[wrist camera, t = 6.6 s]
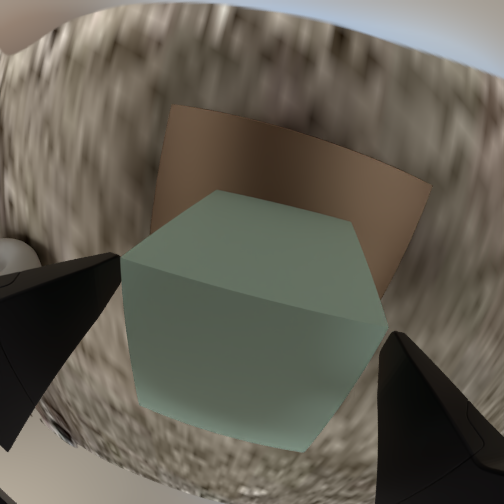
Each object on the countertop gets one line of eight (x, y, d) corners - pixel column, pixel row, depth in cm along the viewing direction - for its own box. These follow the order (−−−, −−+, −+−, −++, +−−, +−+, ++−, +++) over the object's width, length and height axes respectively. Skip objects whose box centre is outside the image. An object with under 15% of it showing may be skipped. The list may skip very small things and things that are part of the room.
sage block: (351, 222, 10) (388, 328, 4) (313, 329, 12) (304, 452, 7) (216, 189, 10) (120, 257, 5) (202, 300, 12) (139, 404, 7)
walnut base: (401, 170, 12) (432, 185, 9) (331, 329, 17) (332, 377, 13) (207, 109, 13) (171, 103, 9) (175, 277, 17) (144, 314, 14)
